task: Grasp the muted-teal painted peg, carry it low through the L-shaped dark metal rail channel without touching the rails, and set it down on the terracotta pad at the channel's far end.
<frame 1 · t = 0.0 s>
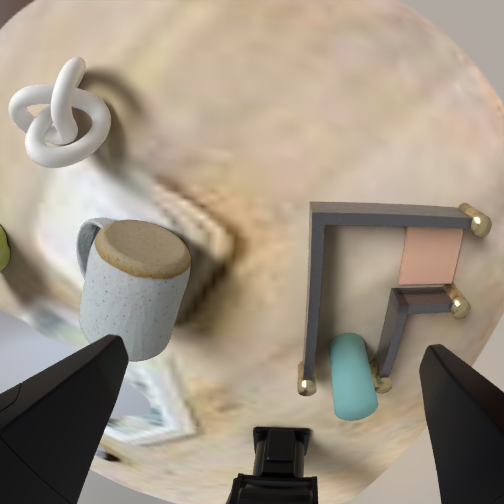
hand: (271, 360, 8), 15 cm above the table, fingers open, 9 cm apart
ceramic mug: (138, 260, 25), on the table
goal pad: (431, 253, 21), on the table
peg: (346, 346, 26), on the table
metal rail track: (383, 299, 23), on the table
knot: (78, 112, 20), on the table
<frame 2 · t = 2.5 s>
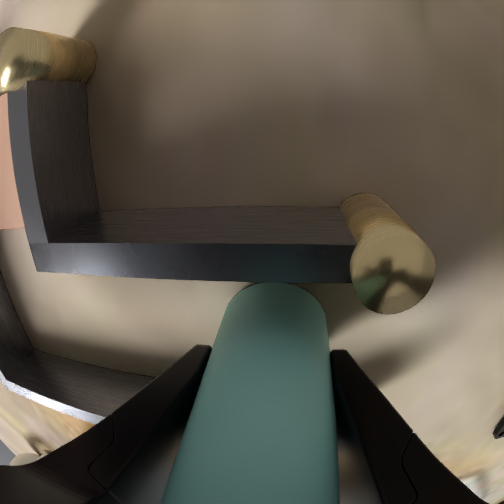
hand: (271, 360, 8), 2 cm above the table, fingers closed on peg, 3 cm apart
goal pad: (13, 159, 8), on the table
peg: (274, 326, 10), on the table, touching gripper
metal rail track: (112, 250, 9), on the table
knot: (62, 465, 21), on the table
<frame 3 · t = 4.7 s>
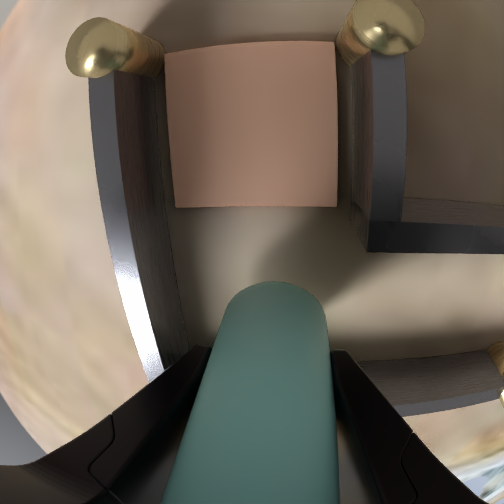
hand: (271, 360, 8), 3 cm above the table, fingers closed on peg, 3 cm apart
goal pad: (251, 123, 9), on the table
peg: (274, 326, 10), point 2 cm above the table, touching gripper
metal rail track: (378, 235, 10), on the table
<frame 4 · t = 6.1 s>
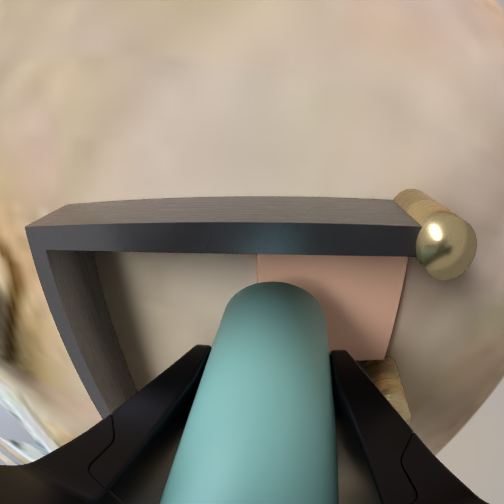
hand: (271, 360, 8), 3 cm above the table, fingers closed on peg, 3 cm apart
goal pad: (329, 303, 11), on the table
peg: (274, 326, 10), point 2 cm above the table, touching gripper
metal rail track: (238, 377, 13), on the table
when the fingers open (2 cm above the table, at t = 7.0 s): peg stays where it is, resting on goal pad.
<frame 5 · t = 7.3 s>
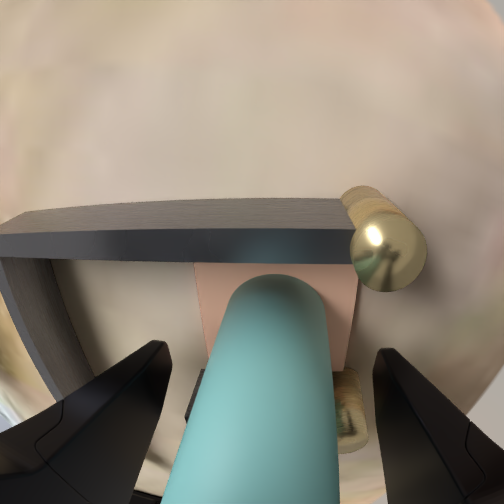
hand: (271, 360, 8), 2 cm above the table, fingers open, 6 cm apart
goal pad: (276, 311, 10), on the table
peg: (275, 317, 10), resting on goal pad
metal rail track: (193, 384, 12), on the table
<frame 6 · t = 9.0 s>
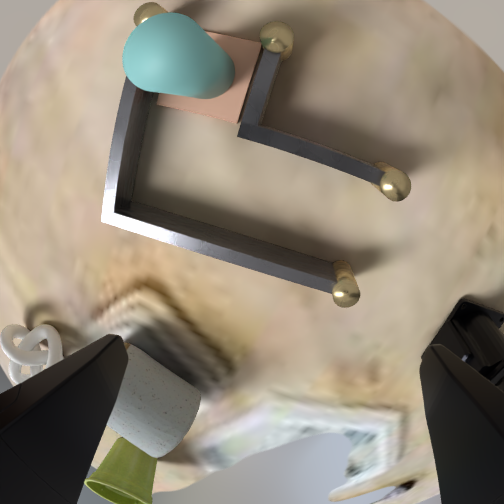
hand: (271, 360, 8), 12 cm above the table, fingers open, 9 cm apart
ceramic mug: (149, 375, 27), on the table
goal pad: (208, 73, 16), on the table
peg: (206, 72, 15), resting on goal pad
metal rail track: (257, 146, 17), on the table
knot: (49, 342, 27), on the table
plant pot: (137, 447, 34), on the table
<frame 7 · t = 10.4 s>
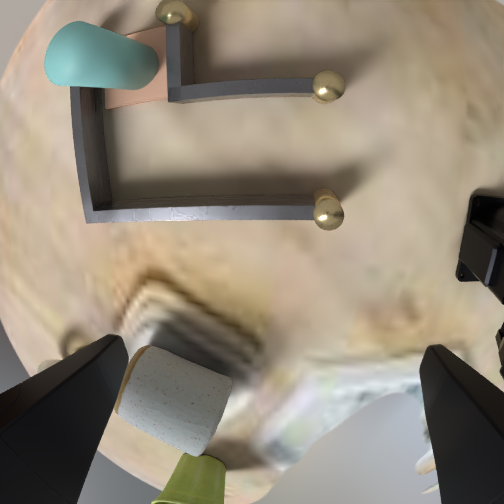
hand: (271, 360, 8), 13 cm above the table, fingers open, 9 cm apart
ceramic mug: (183, 377, 27), on the table
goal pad: (138, 67, 16), on the table
peg: (136, 66, 16), resting on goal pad
metal rail track: (199, 109, 17), on the table
plant pot: (203, 461, 34), on the table
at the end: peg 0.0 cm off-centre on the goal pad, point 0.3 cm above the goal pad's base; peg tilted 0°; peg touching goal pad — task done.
